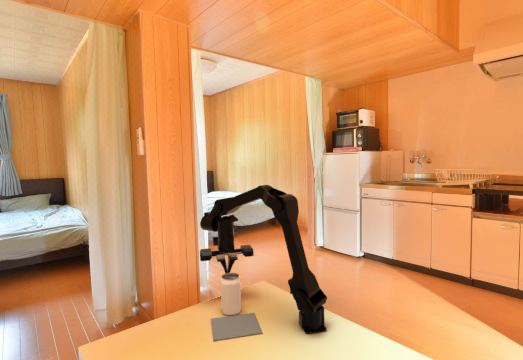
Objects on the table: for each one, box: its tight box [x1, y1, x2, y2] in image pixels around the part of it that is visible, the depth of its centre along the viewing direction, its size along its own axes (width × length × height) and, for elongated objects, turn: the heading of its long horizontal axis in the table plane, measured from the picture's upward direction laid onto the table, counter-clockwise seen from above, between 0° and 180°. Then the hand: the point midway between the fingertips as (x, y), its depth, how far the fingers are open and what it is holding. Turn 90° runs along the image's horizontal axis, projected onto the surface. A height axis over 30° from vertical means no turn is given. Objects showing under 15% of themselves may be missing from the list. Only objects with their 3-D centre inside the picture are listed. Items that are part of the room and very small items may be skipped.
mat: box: [210, 312, 264, 342], centre depth 93 cm, size 14×12×1 cm
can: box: [220, 272, 242, 316], centre depth 102 cm, size 6×6×12 cm
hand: (227, 275), depth 111 cm, fingers closed
